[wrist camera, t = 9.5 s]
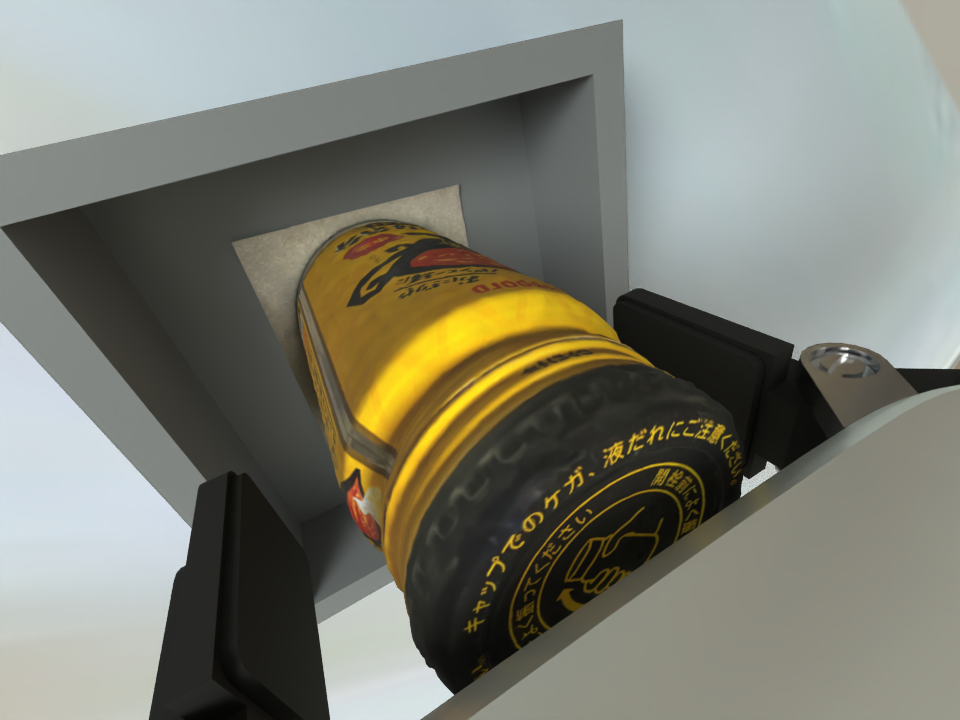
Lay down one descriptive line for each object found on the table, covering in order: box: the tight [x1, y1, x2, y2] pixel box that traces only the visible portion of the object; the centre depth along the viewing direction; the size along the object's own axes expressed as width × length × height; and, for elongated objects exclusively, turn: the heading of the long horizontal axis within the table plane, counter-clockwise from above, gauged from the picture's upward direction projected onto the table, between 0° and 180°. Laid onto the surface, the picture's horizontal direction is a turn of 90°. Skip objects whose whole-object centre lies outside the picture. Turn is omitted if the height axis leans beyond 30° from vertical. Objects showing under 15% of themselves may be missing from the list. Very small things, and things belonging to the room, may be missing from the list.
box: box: [0, 20, 629, 624], centre depth 14 cm, size 15×15×4 cm
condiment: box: [231, 185, 744, 695], centre depth 11 cm, size 7×8×12 cm
